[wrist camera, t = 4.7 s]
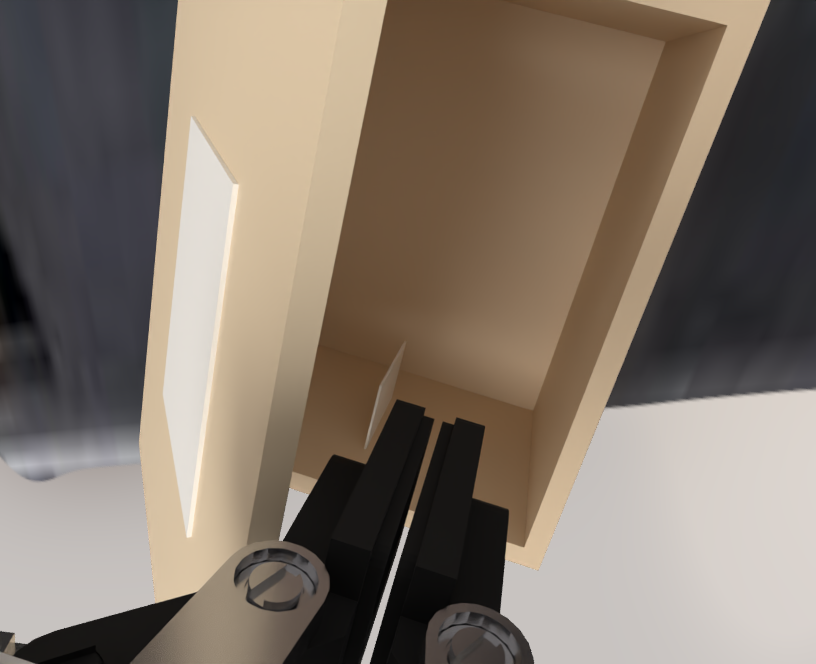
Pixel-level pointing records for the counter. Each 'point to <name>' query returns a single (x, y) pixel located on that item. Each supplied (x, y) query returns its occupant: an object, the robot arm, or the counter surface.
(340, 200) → the lid flap
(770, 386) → the counter surface
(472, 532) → the robot arm
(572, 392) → the carton
